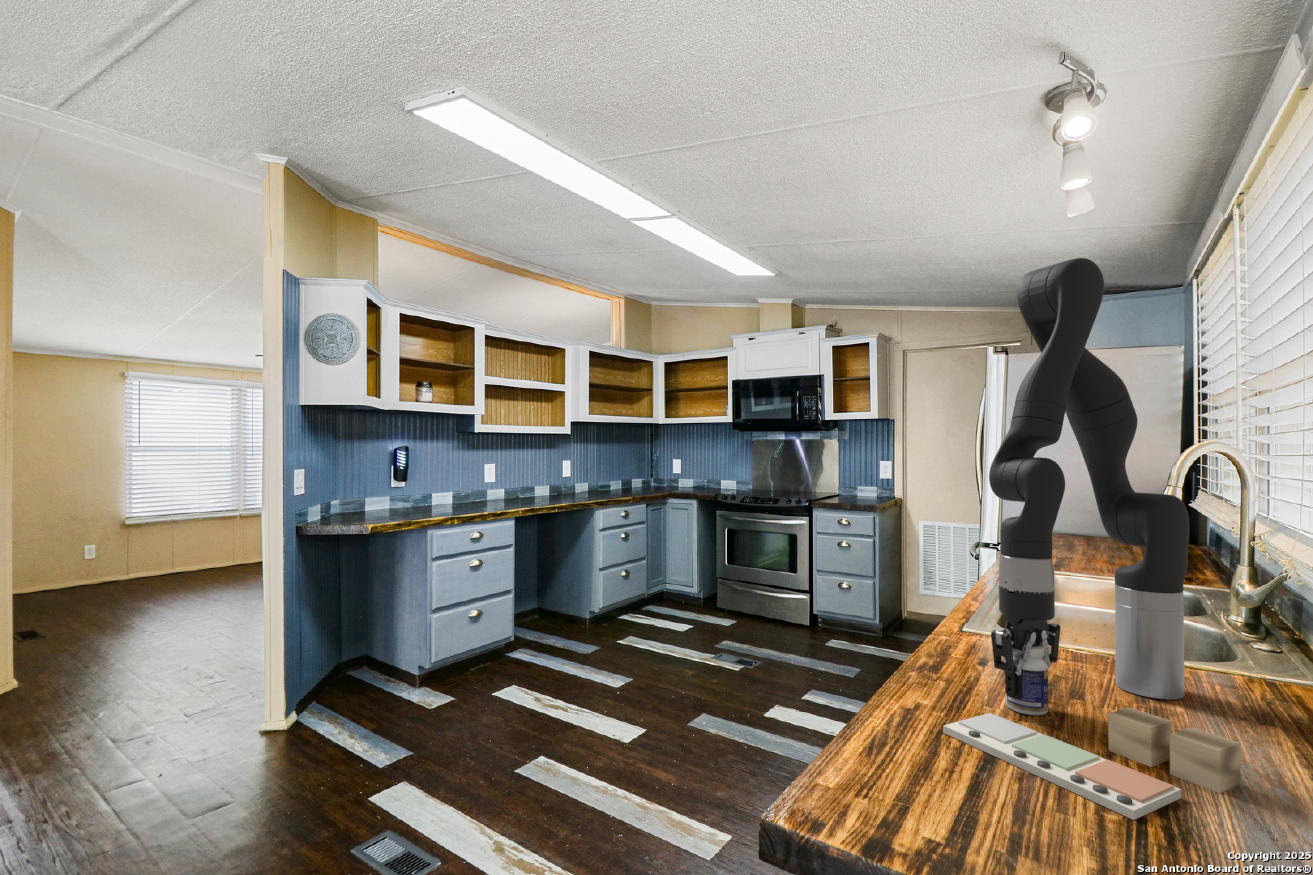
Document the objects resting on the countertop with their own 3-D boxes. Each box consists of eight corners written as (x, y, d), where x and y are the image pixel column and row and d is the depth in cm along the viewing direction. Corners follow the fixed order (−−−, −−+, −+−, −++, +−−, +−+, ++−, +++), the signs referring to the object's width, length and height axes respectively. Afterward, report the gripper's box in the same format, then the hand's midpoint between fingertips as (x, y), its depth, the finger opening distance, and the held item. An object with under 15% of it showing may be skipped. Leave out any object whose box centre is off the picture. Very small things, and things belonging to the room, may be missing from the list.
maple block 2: (1191, 766, 81) (1190, 726, 81) (1240, 784, 77) (1240, 742, 77) (1170, 774, 79) (1169, 733, 79) (1219, 794, 75) (1219, 750, 75)
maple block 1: (1129, 743, 88) (1128, 707, 88) (1172, 759, 83) (1171, 720, 83) (1108, 751, 85) (1108, 713, 85) (1151, 767, 81) (1151, 727, 81)
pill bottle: (1054, 718, 95) (1054, 651, 96) (1013, 714, 97) (1012, 648, 97) (1039, 703, 101) (1039, 640, 101) (1000, 700, 102) (1000, 638, 102)
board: (989, 719, 95) (989, 710, 95) (1181, 797, 73) (1180, 786, 73) (943, 732, 90) (943, 723, 90) (1133, 819, 69) (1133, 807, 69)
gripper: (1031, 577, 106) (1031, 679, 106) (974, 584, 99) (974, 693, 99) (1078, 585, 99) (1079, 694, 99) (1020, 594, 93) (1021, 711, 92)
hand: (1026, 693), depth 99 cm, fingers closed on pill bottle, 5 cm apart
